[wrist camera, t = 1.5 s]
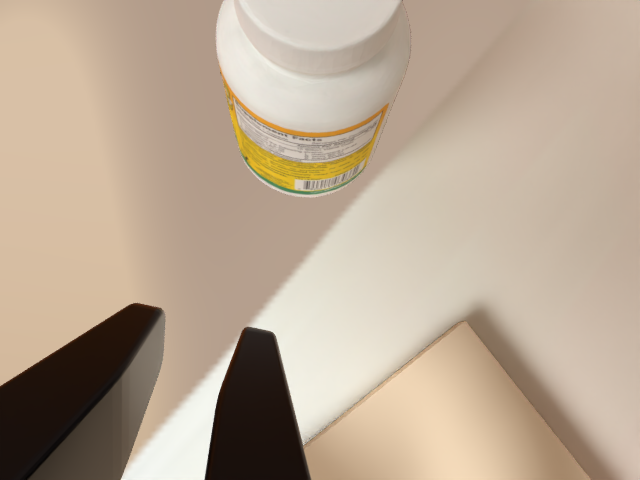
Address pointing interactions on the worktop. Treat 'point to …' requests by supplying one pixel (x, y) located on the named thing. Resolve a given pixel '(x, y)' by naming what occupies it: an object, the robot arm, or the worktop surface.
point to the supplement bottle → (311, 86)
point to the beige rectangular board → (443, 424)
